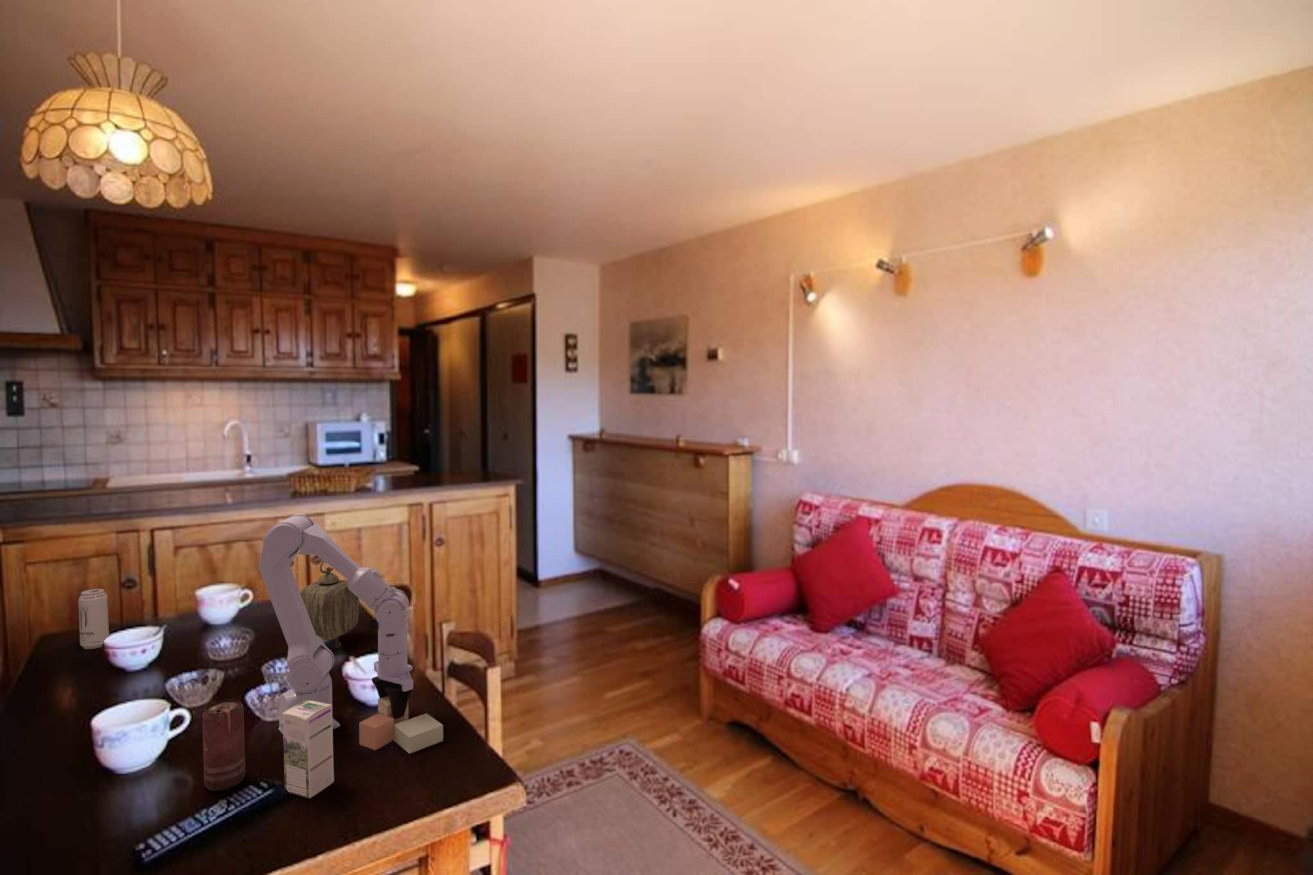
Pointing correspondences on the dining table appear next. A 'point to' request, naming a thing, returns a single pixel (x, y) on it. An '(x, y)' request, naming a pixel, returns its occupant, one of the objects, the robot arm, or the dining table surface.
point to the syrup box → (308, 748)
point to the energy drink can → (93, 618)
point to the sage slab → (418, 733)
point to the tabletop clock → (331, 606)
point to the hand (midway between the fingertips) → (393, 713)
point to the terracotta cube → (376, 731)
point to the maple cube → (385, 709)
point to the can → (223, 744)
